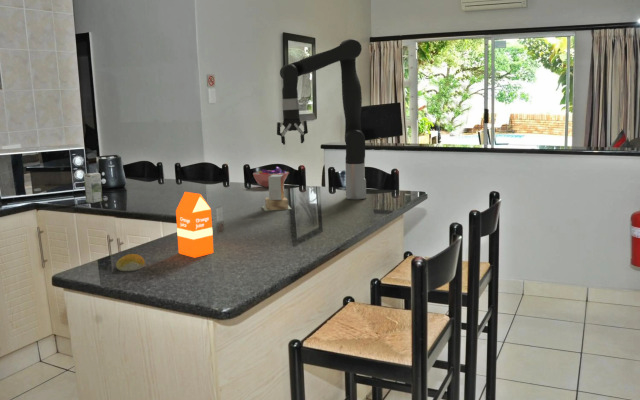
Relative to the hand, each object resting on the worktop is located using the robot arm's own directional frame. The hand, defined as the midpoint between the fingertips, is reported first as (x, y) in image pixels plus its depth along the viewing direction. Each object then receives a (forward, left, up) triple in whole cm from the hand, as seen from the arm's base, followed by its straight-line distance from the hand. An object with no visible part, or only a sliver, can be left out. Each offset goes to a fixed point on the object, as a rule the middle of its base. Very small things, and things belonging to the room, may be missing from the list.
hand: (293, 143), depth 273 cm
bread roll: (+66, +91, -28) cm, 116 cm away
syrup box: (+96, -35, -28) cm, 106 cm away
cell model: (+4, -53, -28) cm, 60 cm away
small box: (+10, +13, -24) cm, 29 cm away
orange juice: (+47, +80, -28) cm, 97 cm away
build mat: (+11, +13, -28) cm, 33 cm away
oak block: (+11, +13, -27) cm, 32 cm away
